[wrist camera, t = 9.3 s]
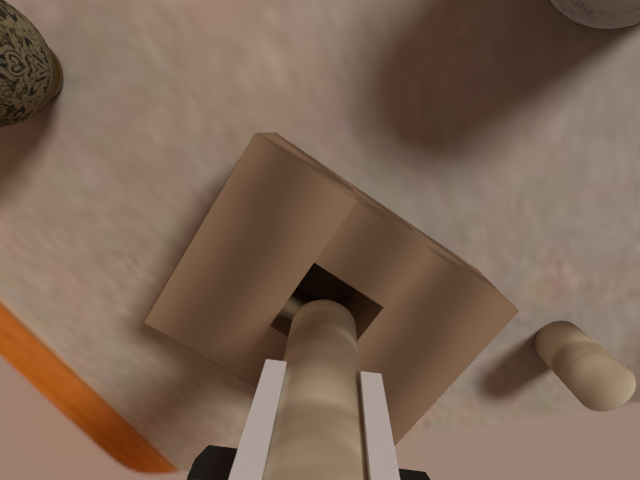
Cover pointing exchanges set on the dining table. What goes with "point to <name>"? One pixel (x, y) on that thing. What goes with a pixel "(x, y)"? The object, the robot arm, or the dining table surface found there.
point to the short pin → (584, 366)
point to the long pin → (319, 400)
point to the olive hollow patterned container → (24, 68)
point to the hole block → (340, 260)
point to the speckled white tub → (601, 12)
